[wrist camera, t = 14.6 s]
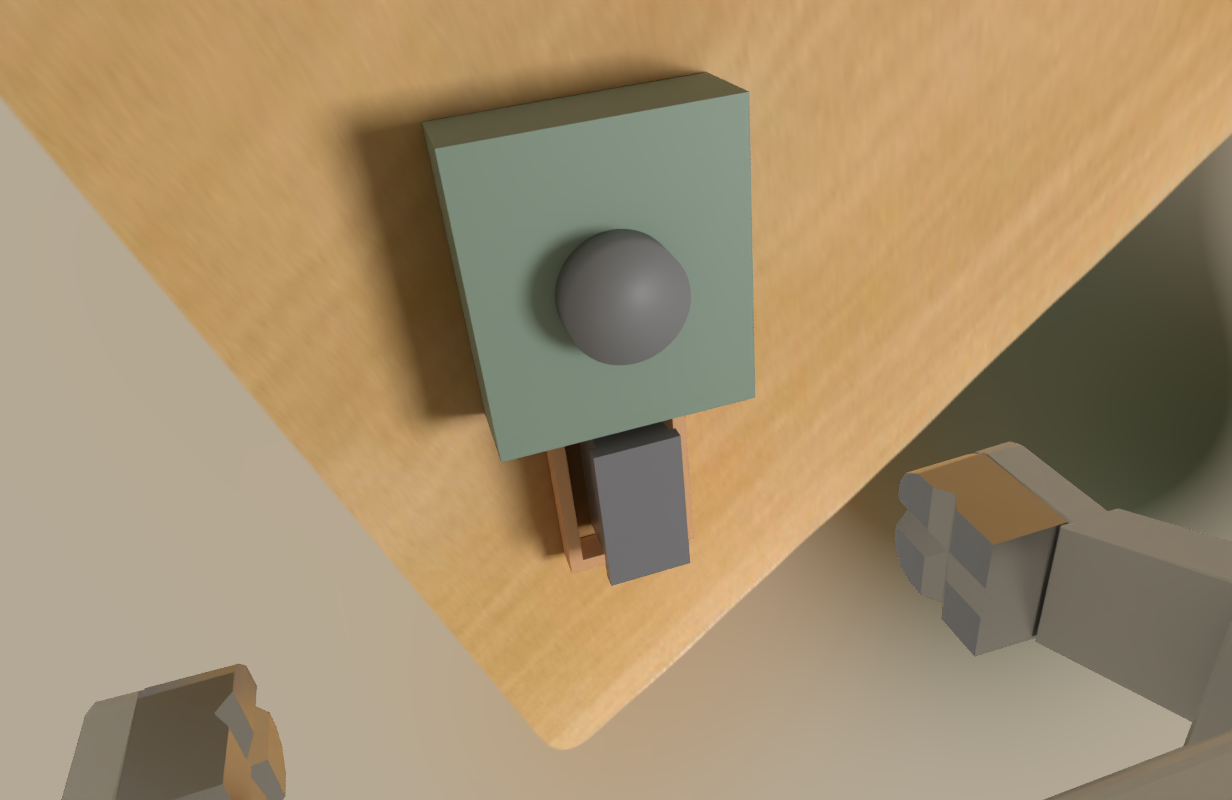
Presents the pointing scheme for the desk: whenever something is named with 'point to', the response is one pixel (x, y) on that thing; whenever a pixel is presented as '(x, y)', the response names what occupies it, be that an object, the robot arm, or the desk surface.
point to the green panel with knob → (602, 266)
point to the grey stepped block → (637, 500)
